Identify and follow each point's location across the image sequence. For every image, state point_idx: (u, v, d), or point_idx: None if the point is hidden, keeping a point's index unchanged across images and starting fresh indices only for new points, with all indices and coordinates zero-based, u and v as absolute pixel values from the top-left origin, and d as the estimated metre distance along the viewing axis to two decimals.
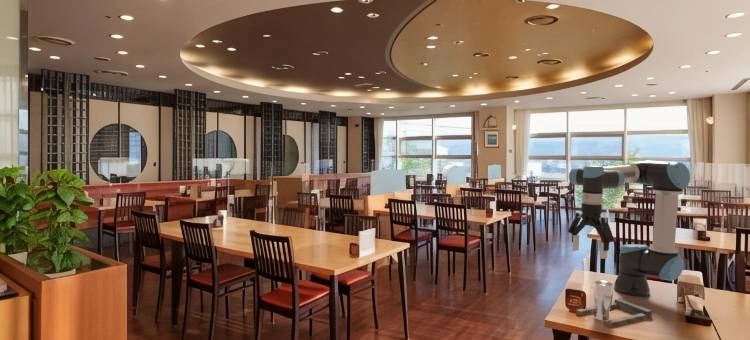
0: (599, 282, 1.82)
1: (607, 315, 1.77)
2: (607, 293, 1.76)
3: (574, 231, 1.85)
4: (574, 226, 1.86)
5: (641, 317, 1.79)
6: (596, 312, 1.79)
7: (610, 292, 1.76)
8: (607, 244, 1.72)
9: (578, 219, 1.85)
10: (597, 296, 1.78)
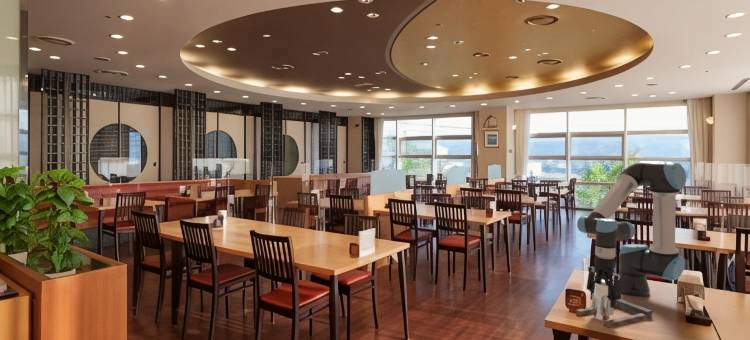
0: None
1: (607, 315, 1.77)
2: (607, 293, 1.76)
3: (592, 288, 1.82)
4: (591, 282, 1.84)
5: (641, 317, 1.79)
6: (596, 312, 1.79)
7: None
8: (614, 301, 1.75)
9: (593, 273, 1.83)
10: (597, 296, 1.78)
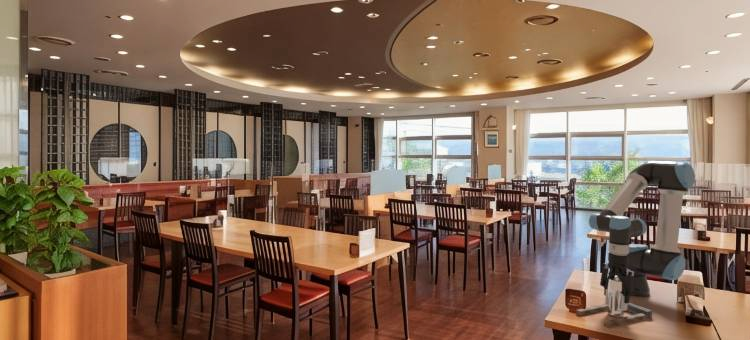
0: None
1: (621, 310, 1.81)
2: (620, 289, 1.79)
3: (606, 284, 1.86)
4: (604, 278, 1.87)
5: (641, 317, 1.79)
6: (610, 308, 1.83)
7: None
8: (628, 297, 1.78)
9: (606, 270, 1.87)
10: (611, 292, 1.81)
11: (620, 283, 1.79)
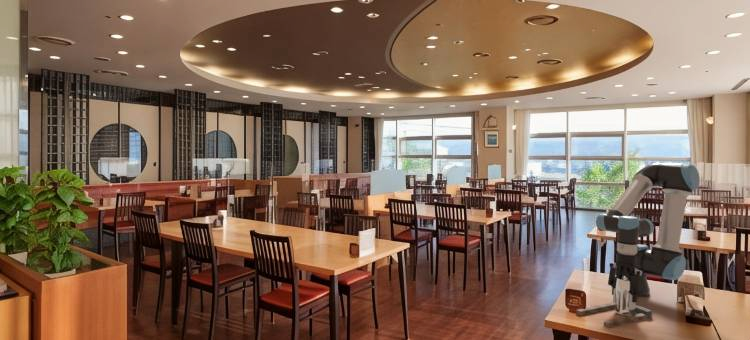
0: (621, 278, 1.87)
1: None
2: (629, 288, 1.81)
3: (614, 283, 1.88)
4: (612, 277, 1.89)
5: (641, 317, 1.79)
6: (618, 307, 1.85)
7: None
8: (636, 296, 1.80)
9: (614, 269, 1.89)
10: (619, 291, 1.83)
11: (628, 282, 1.81)
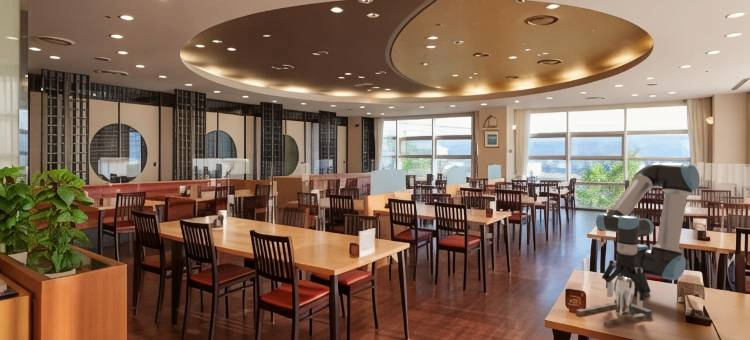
0: (620, 278, 1.88)
1: (629, 310, 1.83)
2: (628, 289, 1.81)
3: (608, 278, 1.90)
4: (608, 273, 1.91)
5: (641, 317, 1.79)
6: (618, 307, 1.85)
7: (632, 288, 1.81)
8: (643, 294, 1.77)
9: (612, 266, 1.90)
10: (619, 292, 1.83)
11: (628, 283, 1.81)
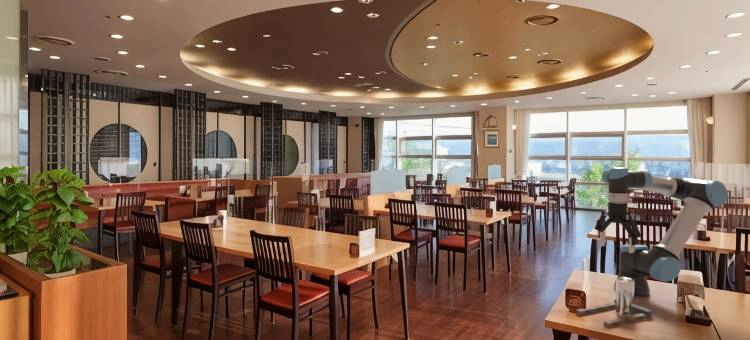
0: (620, 278, 1.88)
1: (629, 310, 1.83)
2: (628, 289, 1.81)
3: (601, 228, 2.00)
4: (600, 223, 2.01)
5: (641, 317, 1.79)
6: (618, 307, 1.85)
7: (632, 288, 1.81)
8: (635, 239, 1.87)
9: (604, 217, 1.99)
10: (619, 292, 1.83)
11: (628, 283, 1.81)
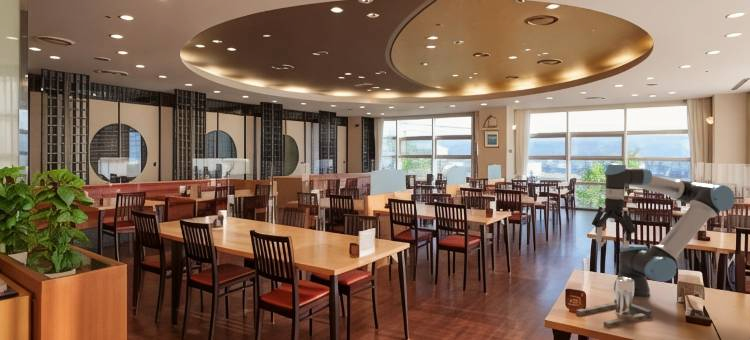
0: (620, 278, 1.88)
1: (629, 310, 1.83)
2: (628, 289, 1.81)
3: (597, 223, 2.02)
4: (597, 219, 2.04)
5: (641, 317, 1.79)
6: (618, 307, 1.85)
7: (632, 288, 1.81)
8: (629, 235, 1.89)
9: (601, 212, 2.02)
10: (619, 292, 1.83)
11: (628, 283, 1.81)
